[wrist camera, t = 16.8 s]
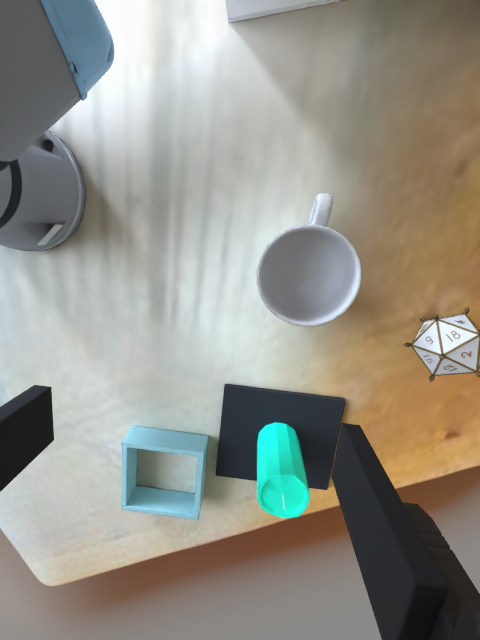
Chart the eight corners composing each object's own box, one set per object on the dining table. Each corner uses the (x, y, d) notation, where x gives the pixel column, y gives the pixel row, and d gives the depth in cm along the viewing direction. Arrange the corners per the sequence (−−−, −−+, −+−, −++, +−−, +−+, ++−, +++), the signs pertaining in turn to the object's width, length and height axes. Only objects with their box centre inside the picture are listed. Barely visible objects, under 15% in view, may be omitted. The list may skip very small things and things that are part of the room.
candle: (306, 444, 45) (323, 514, 34) (273, 465, 46) (278, 539, 35) (282, 414, 44) (290, 475, 33) (248, 436, 46) (245, 502, 34)
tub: (131, 489, 50) (120, 509, 46) (132, 425, 47) (121, 441, 43) (202, 498, 50) (198, 520, 46) (208, 435, 47) (204, 452, 43)
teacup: (320, 323, 42) (334, 342, 34) (245, 294, 41) (242, 306, 34) (368, 221, 38) (396, 216, 31) (286, 188, 38) (293, 174, 30)
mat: (216, 471, 48) (215, 475, 48) (225, 383, 45) (224, 386, 44) (326, 486, 48) (327, 490, 47) (344, 398, 44) (345, 400, 43)
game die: (419, 314, 44) (484, 282, 35) (458, 365, 43) (537, 346, 34) (376, 343, 41) (436, 316, 32) (417, 400, 40) (492, 389, 30)
